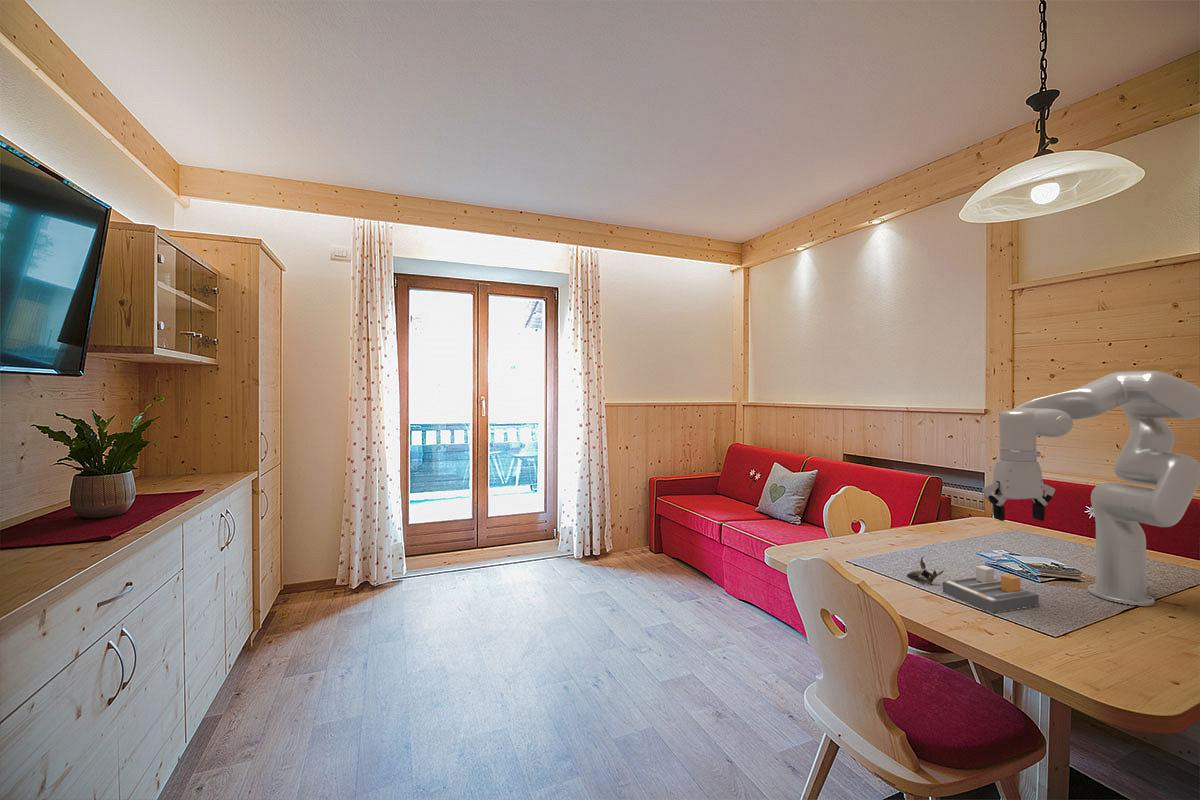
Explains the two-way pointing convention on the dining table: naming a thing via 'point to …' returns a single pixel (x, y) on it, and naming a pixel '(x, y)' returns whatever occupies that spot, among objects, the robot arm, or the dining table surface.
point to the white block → (984, 574)
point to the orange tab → (1010, 583)
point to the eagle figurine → (925, 572)
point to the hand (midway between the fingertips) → (1018, 519)
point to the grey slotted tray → (989, 594)
